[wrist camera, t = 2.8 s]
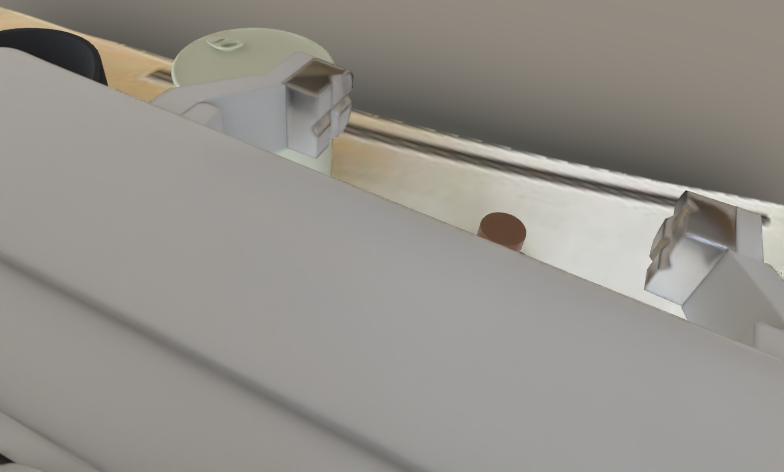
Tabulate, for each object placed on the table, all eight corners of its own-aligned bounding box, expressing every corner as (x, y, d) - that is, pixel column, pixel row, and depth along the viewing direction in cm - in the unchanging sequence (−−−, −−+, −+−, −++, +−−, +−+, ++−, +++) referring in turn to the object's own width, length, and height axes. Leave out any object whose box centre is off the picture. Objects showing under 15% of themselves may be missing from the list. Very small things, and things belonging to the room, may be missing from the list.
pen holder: (-18, 174, 40) (-93, 44, 32) (120, 140, 44) (81, 17, 36) (1, 264, 35) (-84, 133, 27) (155, 216, 39) (118, 91, 31)
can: (273, 152, 44) (261, 5, 36) (359, 209, 41) (370, 61, 32) (174, 210, 39) (132, 53, 30) (264, 281, 36) (246, 127, 27)
